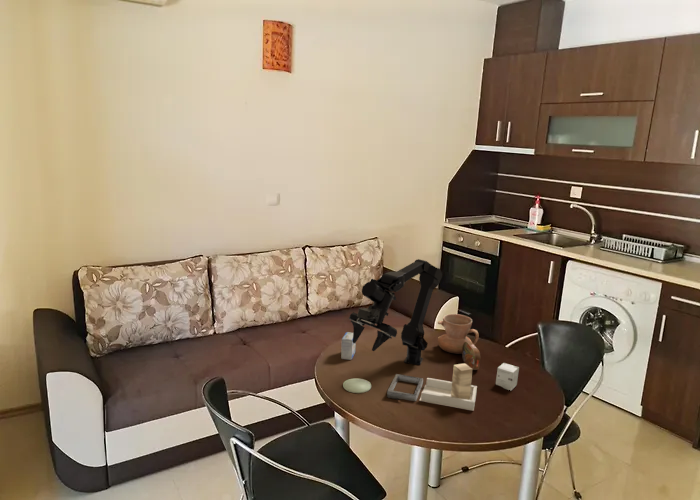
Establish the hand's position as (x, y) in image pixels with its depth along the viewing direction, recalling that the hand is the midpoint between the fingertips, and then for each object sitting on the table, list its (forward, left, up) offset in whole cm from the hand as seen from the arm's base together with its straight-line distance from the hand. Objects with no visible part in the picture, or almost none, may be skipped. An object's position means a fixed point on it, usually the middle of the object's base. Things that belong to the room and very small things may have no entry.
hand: (363, 346), depth 181 cm
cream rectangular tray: (-2, +31, -15) cm, 34 cm away
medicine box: (-23, -12, -15) cm, 30 cm away
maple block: (-2, +35, -14) cm, 38 cm away
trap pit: (-2, +16, -15) cm, 22 cm away
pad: (+1, -1, -15) cm, 15 cm away
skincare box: (-20, +50, -15) cm, 56 cm away
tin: (-33, +36, -15) cm, 51 cm away
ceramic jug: (-46, +29, -15) cm, 56 cm away
